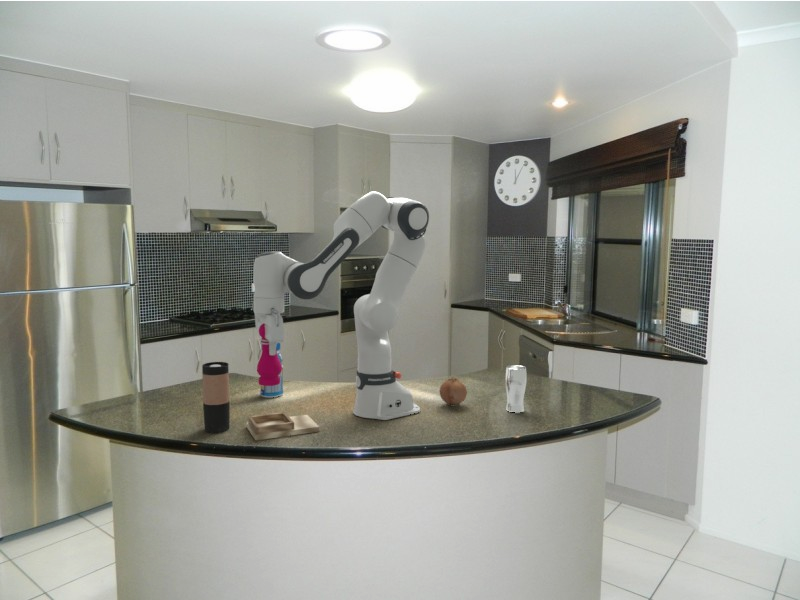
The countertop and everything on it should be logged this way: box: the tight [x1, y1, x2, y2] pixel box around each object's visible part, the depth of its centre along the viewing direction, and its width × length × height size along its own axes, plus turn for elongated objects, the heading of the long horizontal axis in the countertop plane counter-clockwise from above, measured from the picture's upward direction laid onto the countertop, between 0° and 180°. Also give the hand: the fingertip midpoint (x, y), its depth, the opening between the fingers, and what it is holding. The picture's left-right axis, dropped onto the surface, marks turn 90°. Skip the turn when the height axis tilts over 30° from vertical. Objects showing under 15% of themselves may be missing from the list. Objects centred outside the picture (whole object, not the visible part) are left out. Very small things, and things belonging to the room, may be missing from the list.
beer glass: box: [504, 364, 527, 414], centre depth 196 cm, size 7×7×15 cm
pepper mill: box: [256, 323, 282, 386], centre depth 172 cm, size 7×7×20 cm
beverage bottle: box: [259, 342, 284, 399], centre depth 213 cm, size 8×8×20 cm
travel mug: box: [201, 361, 231, 434], centre depth 175 cm, size 8×8×20 cm
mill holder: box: [246, 411, 320, 441], centre depth 176 cm, size 19×13×4 cm
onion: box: [439, 376, 468, 407], centre depth 202 cm, size 10×9×10 cm
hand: (269, 352), depth 172 cm, fingers closed on pepper mill, 5 cm apart
